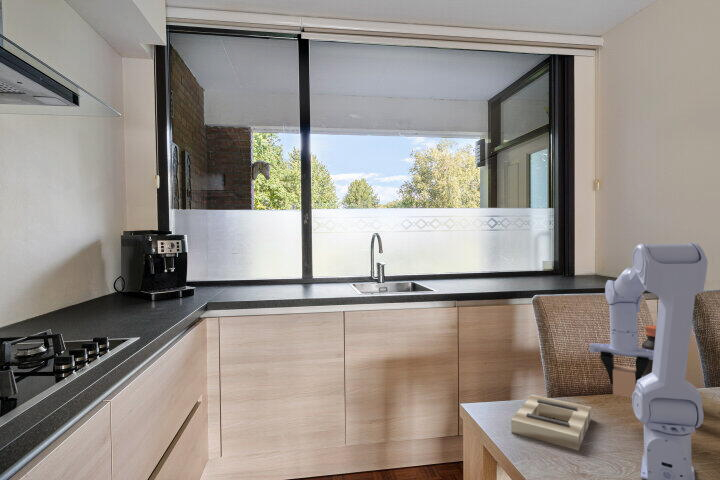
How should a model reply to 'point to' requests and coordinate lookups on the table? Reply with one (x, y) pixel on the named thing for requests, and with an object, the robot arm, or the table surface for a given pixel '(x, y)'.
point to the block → (624, 380)
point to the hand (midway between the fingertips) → (624, 385)
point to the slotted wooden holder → (552, 421)
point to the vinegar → (649, 346)
